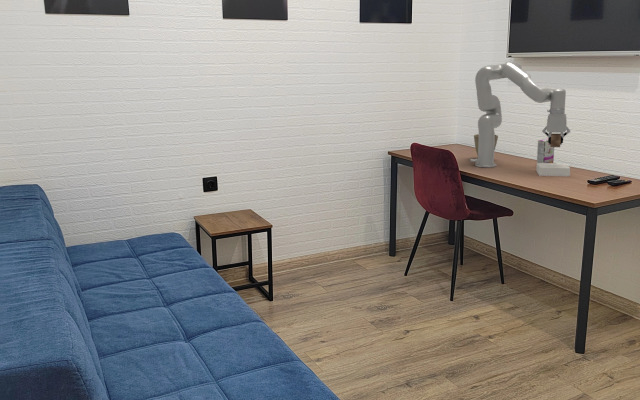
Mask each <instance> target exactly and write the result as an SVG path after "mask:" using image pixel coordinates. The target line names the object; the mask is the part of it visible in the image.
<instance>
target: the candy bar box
mask: <svg viewBox="0 0 640 400" xmlns="http://www.w3.org/2000/svg"><path fill="white" fill-rule="evenodd" d="M550 145H551V144H550ZM550 145H549V143H548V138H545V139H540V140H537V152H536V153H537V155H536V164H537V163H554V159H555V158H554V157H555V147H551V146H550Z"/></svg>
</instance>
